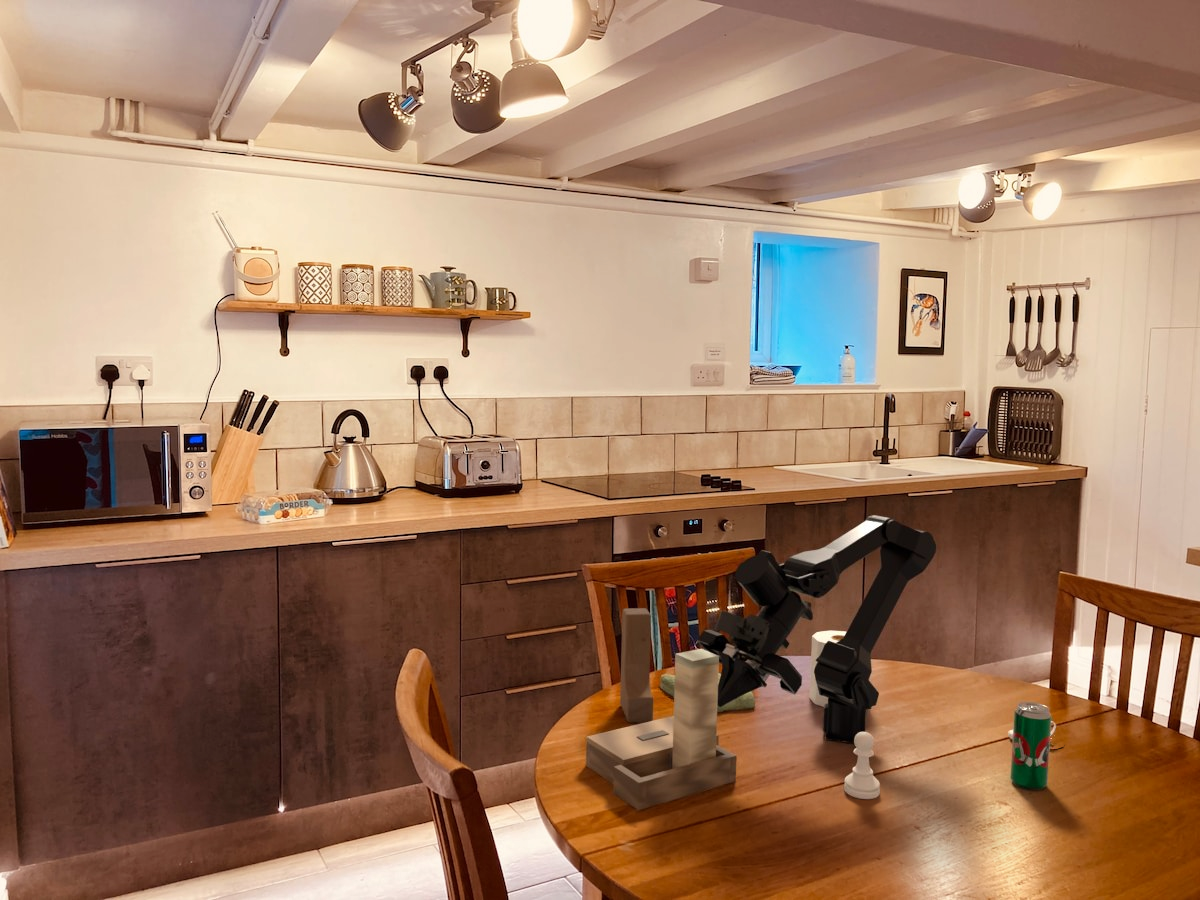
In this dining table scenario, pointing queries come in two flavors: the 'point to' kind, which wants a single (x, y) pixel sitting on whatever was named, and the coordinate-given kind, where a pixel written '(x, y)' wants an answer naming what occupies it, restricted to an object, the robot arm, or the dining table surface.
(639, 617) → the wooden block
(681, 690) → the tall beige rectangular block
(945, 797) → the dining table surface
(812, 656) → the toilet paper
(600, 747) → the box with sliding lid
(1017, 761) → the soda can
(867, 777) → the chess pawn
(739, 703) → the washcloth
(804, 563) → the robot arm
